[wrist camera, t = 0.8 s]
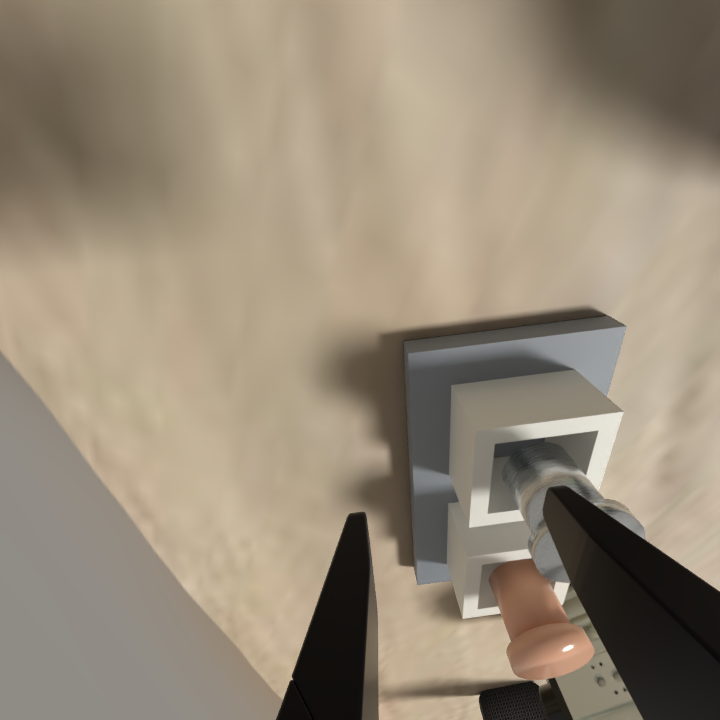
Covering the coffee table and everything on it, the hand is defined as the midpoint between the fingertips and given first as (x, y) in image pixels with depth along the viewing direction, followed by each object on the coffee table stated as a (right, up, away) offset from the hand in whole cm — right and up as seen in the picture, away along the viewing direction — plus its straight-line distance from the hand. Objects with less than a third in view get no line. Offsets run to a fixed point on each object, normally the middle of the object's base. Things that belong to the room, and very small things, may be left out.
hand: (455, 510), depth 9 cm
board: (+7, -4, +18) cm, 20 cm away
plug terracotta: (+8, -11, +16) cm, 21 cm away
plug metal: (+7, -2, +11) cm, 13 cm away
